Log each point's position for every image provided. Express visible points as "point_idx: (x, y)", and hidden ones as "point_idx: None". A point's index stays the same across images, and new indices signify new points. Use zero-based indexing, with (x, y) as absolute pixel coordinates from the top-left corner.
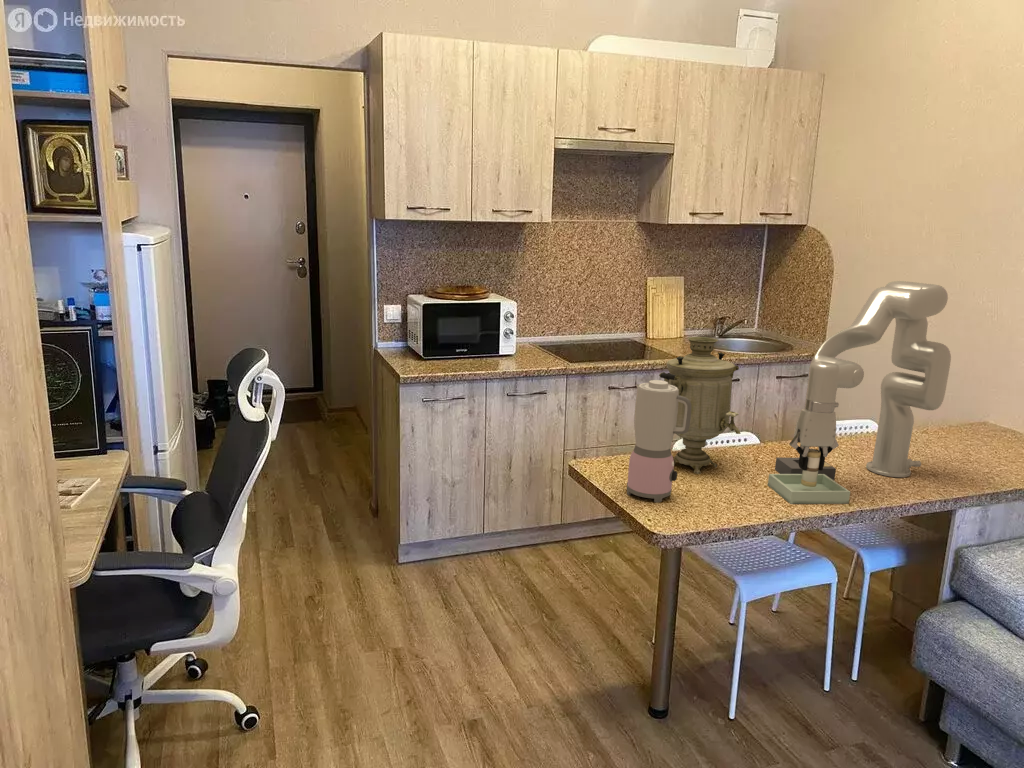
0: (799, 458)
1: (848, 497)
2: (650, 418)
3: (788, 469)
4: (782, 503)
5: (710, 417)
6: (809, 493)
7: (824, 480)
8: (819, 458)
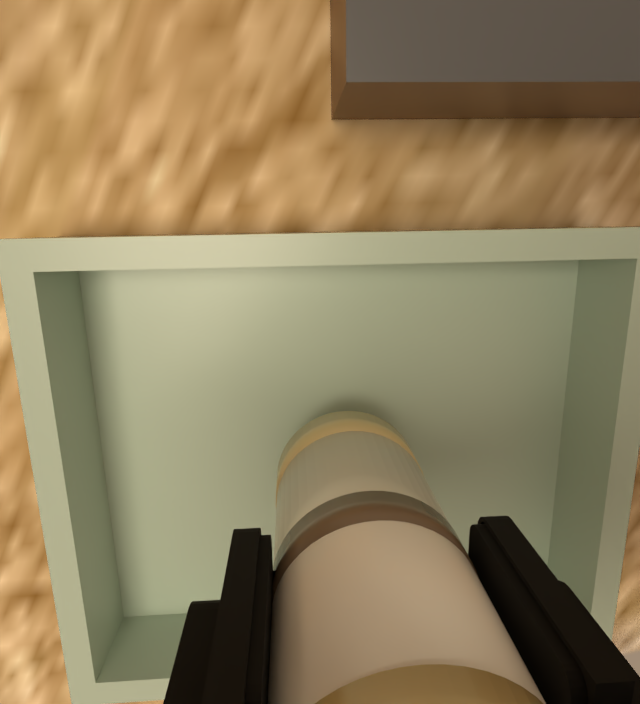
0: (169, 690)
1: None
2: None
3: (341, 11)
4: (54, 613)
5: None
6: None
7: (603, 295)
8: None
